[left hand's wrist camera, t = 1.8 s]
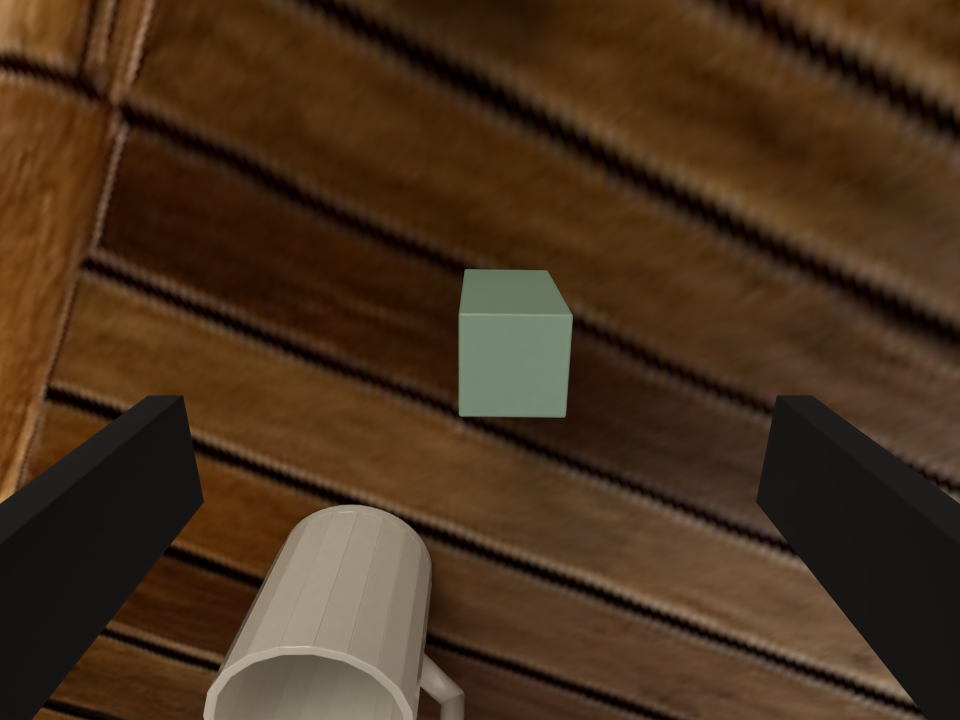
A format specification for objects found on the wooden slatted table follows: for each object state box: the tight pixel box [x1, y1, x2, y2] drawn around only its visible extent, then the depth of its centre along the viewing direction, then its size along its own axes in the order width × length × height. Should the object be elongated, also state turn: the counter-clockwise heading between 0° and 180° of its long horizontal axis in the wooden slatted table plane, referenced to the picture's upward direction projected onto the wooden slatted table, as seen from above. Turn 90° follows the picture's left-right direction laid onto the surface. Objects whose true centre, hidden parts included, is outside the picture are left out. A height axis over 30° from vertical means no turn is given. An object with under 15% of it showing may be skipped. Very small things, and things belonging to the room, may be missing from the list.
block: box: [459, 269, 573, 418], centre depth 27 cm, size 4×4×9 cm
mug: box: [204, 505, 465, 720], centre depth 33 cm, size 16×10×11 cm, turn 37°
